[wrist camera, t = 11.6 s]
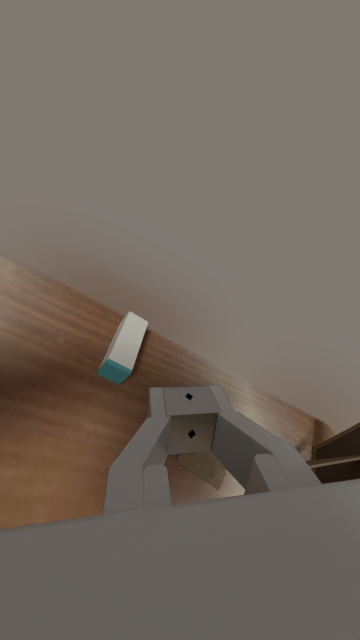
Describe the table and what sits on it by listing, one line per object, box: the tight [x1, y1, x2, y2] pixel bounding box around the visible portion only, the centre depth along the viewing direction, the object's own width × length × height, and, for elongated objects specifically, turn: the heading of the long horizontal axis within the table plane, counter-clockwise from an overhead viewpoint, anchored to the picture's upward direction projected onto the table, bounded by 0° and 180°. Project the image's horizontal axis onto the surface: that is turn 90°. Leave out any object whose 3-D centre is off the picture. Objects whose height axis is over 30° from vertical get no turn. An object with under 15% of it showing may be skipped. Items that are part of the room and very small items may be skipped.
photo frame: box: [305, 423, 360, 484], centre depth 48 cm, size 15×22×25 cm
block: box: [97, 312, 148, 384], centre depth 42 cm, size 4×4×13 cm
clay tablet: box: [177, 451, 226, 490], centre depth 43 cm, size 15×10×3 cm
